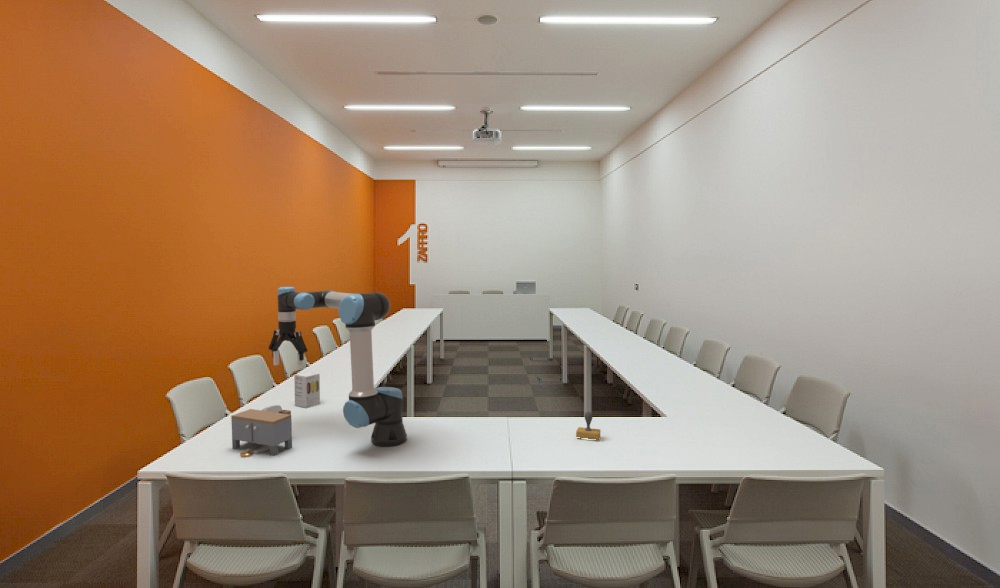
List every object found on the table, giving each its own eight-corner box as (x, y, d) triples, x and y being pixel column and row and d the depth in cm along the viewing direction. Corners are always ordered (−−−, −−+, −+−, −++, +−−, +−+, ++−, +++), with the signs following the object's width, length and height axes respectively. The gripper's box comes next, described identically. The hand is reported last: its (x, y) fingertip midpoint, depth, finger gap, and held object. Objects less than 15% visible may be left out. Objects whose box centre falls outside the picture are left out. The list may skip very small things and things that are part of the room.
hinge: (267, 431, 239) (260, 410, 239) (259, 434, 240) (251, 413, 240) (289, 420, 255) (282, 400, 255) (281, 423, 256) (274, 403, 256)
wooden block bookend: (293, 437, 231) (292, 411, 231) (256, 454, 212) (255, 425, 211) (282, 435, 234) (281, 409, 233) (245, 452, 214) (244, 423, 214)
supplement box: (306, 408, 275) (305, 376, 274) (294, 405, 279) (293, 374, 278) (320, 404, 283) (320, 373, 282) (308, 401, 288) (308, 371, 286)
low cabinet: (292, 447, 220) (291, 414, 219) (272, 456, 210) (271, 422, 209) (251, 440, 227) (250, 408, 226) (230, 449, 217) (229, 416, 216)
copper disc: (255, 454, 212) (255, 452, 212) (246, 458, 208) (245, 455, 208) (247, 453, 214) (247, 450, 214) (237, 457, 210) (237, 454, 210)
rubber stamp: (575, 439, 231) (576, 412, 231) (578, 434, 237) (578, 408, 236) (598, 441, 228) (599, 414, 228) (600, 437, 234) (600, 410, 233)
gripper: (314, 321, 241) (315, 366, 243) (271, 318, 249) (272, 362, 251) (303, 323, 234) (304, 370, 236) (259, 320, 242) (260, 365, 244)
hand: (288, 366), depth 243 cm, fingers open, 13 cm apart
